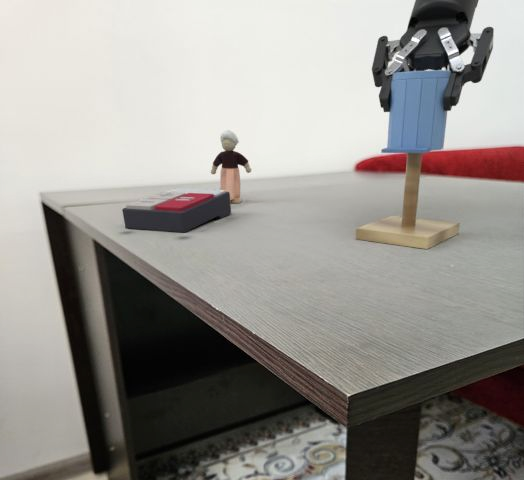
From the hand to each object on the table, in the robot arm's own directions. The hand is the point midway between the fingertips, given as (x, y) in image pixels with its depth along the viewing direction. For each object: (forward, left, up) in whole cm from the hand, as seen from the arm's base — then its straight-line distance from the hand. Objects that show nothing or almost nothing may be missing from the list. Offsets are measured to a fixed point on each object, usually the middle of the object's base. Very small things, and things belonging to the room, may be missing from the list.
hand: (415, 106), depth 62 cm
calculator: (+7, -35, -16) cm, 40 cm away
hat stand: (-2, 0, -16) cm, 16 cm away
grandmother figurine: (-10, -40, -16) cm, 45 cm away
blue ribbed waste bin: (0, 0, -5) cm, 5 cm away
